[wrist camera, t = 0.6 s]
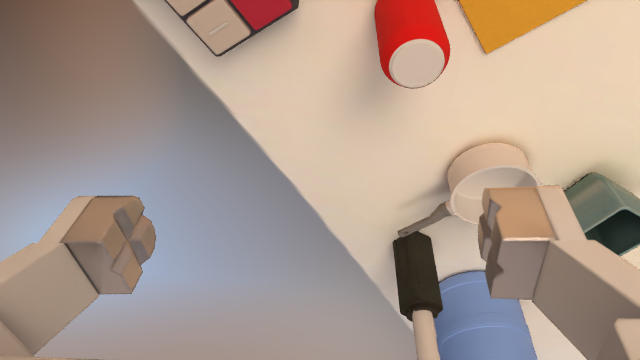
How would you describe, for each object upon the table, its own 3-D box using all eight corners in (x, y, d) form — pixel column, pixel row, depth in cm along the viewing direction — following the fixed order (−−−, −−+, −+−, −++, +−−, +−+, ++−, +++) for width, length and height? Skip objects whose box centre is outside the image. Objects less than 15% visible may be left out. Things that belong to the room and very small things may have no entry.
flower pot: (636, 180, 65) (669, 230, 58) (583, 215, 70) (608, 264, 64) (595, 156, 62) (625, 205, 55) (543, 194, 67) (564, 243, 61)
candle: (413, 254, 78) (435, 408, 60) (389, 243, 76) (405, 399, 58) (433, 238, 75) (463, 396, 57) (409, 227, 73) (432, 387, 55)
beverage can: (363, 18, 49) (368, 79, 40) (395, -35, 45) (408, 19, 36) (410, 43, 51) (424, 106, 42) (445, -7, 47) (468, 51, 38)
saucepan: (376, 185, 67) (378, 214, 63) (510, 121, 58) (522, 150, 54) (414, 226, 73) (418, 255, 69) (540, 175, 64) (553, 204, 60)
